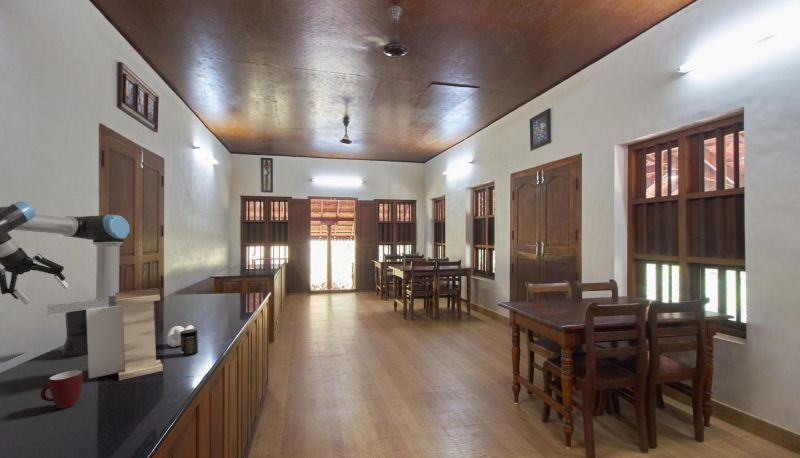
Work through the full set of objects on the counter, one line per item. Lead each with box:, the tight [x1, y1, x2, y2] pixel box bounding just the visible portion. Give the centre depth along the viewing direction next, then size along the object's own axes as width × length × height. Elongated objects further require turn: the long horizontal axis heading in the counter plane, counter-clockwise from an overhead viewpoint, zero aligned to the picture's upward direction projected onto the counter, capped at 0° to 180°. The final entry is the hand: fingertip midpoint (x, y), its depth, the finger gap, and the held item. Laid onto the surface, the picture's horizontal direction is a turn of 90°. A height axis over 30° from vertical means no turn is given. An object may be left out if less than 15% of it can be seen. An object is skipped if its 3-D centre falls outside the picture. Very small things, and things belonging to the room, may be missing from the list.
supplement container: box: [180, 328, 199, 357], centre depth 171 cm, size 7×7×10 cm
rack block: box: [86, 305, 124, 379], centre depth 152 cm, size 8×11×26 cm
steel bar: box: [46, 295, 120, 315], centre depth 149 cm, size 3×24×4 cm, turn 128°
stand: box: [115, 287, 164, 381], centre depth 151 cm, size 10×14×32 cm
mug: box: [39, 369, 84, 410], centre depth 121 cm, size 11×8×10 cm
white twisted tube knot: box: [166, 324, 195, 348], centre depth 186 cm, size 11×12×9 cm
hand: (47, 295), depth 152 cm, fingers open, 13 cm apart
